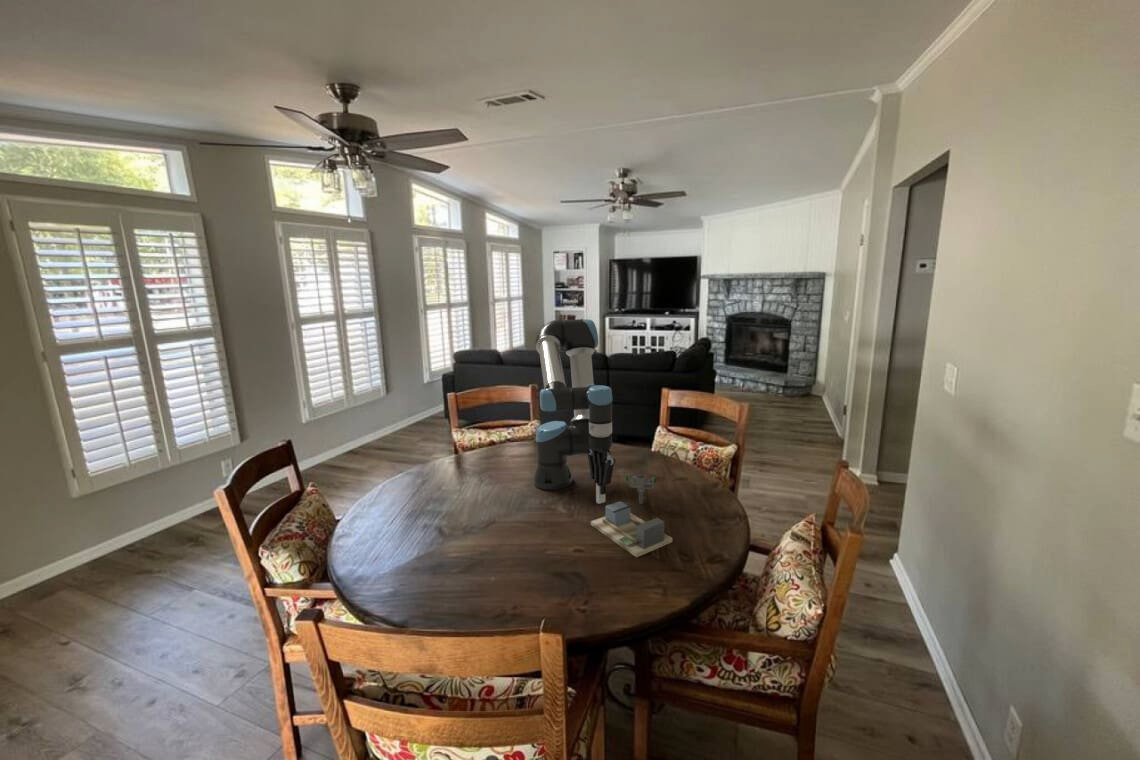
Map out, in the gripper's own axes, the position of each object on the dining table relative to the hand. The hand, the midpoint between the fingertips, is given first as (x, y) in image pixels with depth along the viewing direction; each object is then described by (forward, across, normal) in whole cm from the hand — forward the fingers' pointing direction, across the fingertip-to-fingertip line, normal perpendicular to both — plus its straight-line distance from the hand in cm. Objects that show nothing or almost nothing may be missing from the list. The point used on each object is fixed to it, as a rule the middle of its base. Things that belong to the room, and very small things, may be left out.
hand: (600, 501), depth 156 cm
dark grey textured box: (+4, +24, 0) cm, 24 cm away
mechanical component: (+5, +2, +16) cm, 17 cm away
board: (+5, +15, 0) cm, 15 cm away
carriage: (+3, +9, 0) cm, 9 cm away
